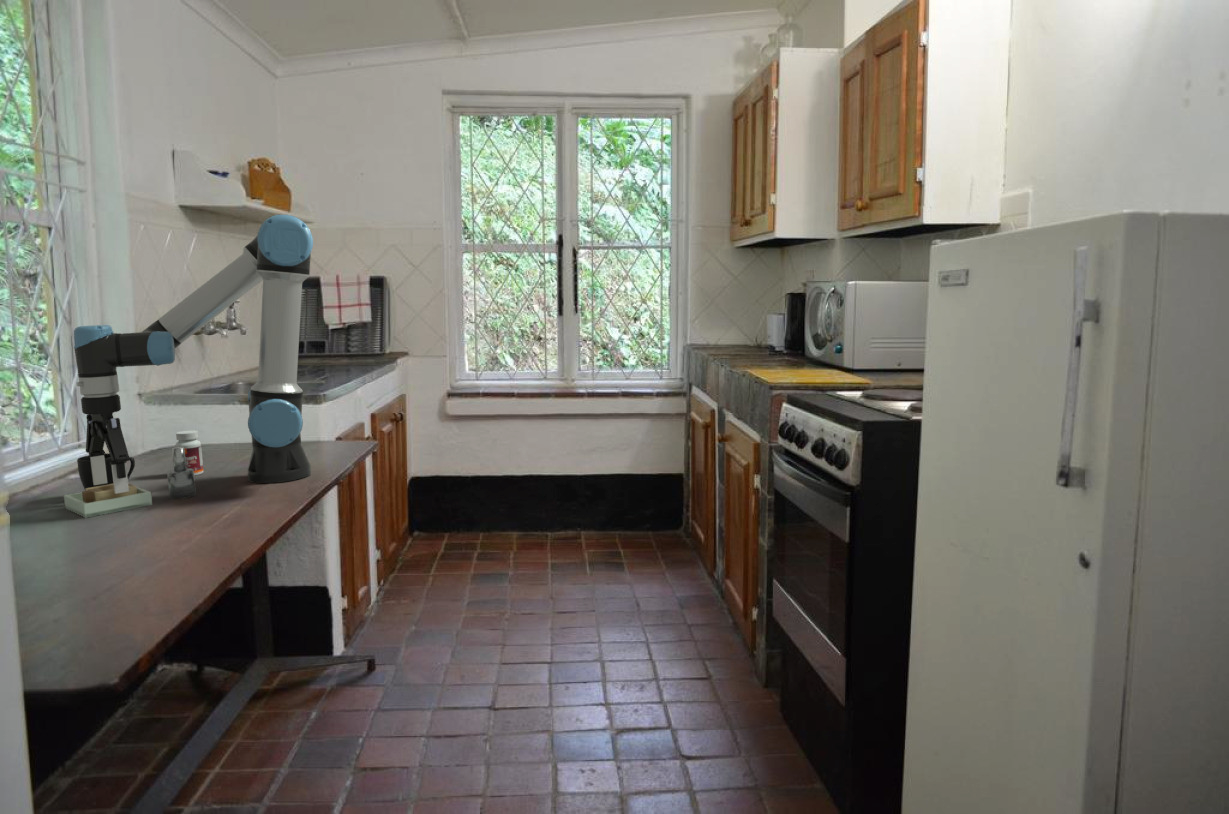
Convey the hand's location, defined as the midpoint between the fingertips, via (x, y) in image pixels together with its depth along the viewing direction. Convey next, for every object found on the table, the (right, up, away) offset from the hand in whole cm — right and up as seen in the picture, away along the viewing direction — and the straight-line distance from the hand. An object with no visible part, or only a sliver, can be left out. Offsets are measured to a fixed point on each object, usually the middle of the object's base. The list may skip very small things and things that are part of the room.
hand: (110, 488), depth 200 cm
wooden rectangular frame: (0, -3, 0) cm, 3 cm away
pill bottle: (+3, 0, +32) cm, 32 cm away
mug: (-7, -3, +11) cm, 13 cm away
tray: (0, -4, 0) cm, 4 cm away
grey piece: (+12, -3, +8) cm, 15 cm away
